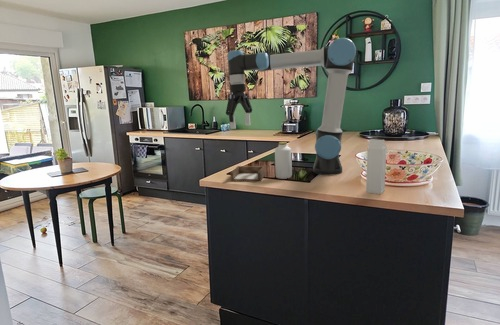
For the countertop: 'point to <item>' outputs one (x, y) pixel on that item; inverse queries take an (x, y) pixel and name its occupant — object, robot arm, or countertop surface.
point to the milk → (376, 166)
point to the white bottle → (283, 161)
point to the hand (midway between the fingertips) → (240, 127)
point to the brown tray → (248, 173)
